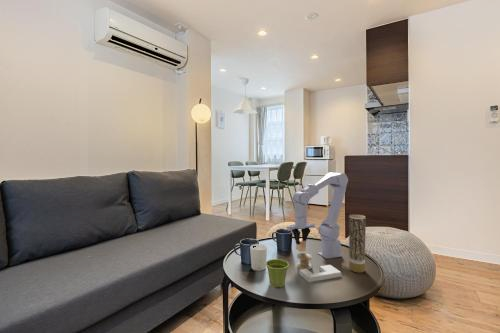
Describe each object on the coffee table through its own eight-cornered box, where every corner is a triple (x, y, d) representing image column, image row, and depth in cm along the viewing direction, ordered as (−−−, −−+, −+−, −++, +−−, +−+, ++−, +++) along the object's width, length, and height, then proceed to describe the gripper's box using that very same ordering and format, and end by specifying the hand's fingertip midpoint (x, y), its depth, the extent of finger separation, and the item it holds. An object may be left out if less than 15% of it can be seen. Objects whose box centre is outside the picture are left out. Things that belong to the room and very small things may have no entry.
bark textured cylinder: (366, 273, 114) (367, 218, 113) (350, 272, 116) (350, 217, 115) (363, 267, 121) (363, 214, 120) (347, 266, 122) (348, 214, 121)
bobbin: (307, 262, 127) (307, 252, 127) (314, 268, 120) (314, 257, 120) (294, 264, 125) (294, 254, 124) (301, 270, 118) (301, 259, 118)
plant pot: (274, 276, 113) (274, 257, 112) (293, 283, 107) (293, 262, 106) (261, 285, 105) (261, 264, 105) (280, 292, 100) (280, 270, 99)
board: (329, 268, 120) (330, 264, 120) (341, 276, 112) (341, 271, 112) (299, 274, 115) (299, 269, 115) (308, 282, 107) (308, 277, 107)
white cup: (267, 264, 125) (267, 244, 125) (266, 271, 117) (266, 250, 117) (251, 264, 126) (250, 243, 126) (249, 271, 118) (249, 249, 118)
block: (301, 248, 129) (301, 238, 129) (305, 250, 126) (305, 240, 125) (296, 248, 128) (296, 238, 128) (300, 251, 125) (300, 241, 124)
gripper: (309, 213, 133) (309, 239, 133) (283, 215, 128) (283, 242, 129) (317, 216, 126) (316, 243, 126) (290, 218, 121) (290, 247, 122)
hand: (300, 243), depth 127 cm, fingers closed on block, 3 cm apart
